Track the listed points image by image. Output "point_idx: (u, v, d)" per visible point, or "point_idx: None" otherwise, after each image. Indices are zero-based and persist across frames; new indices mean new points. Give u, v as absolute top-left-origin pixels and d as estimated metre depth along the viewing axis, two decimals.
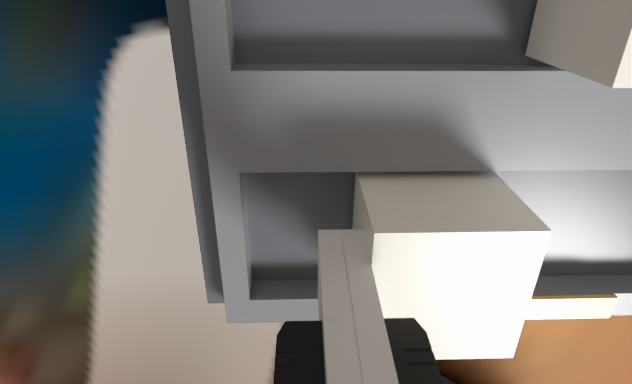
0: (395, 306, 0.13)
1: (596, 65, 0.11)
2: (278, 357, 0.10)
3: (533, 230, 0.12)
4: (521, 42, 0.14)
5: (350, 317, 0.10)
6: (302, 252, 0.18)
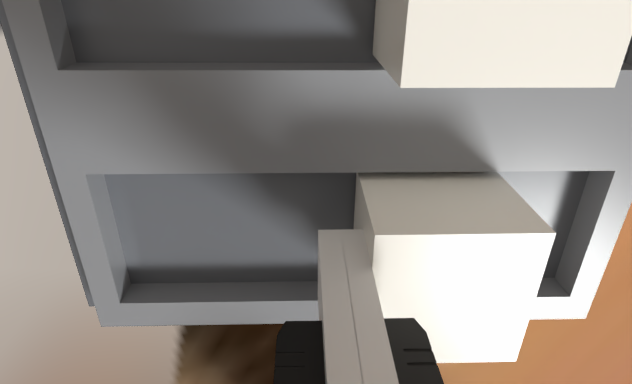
0: (396, 309, 0.13)
1: (395, 64, 0.10)
2: (278, 357, 0.10)
3: (537, 232, 0.12)
4: (369, 41, 0.14)
5: (350, 317, 0.10)
6: (177, 255, 0.17)
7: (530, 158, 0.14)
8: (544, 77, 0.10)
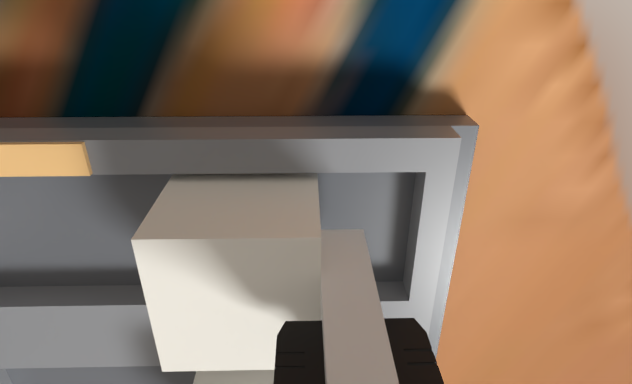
0: None
1: None
2: (278, 357, 0.10)
3: None
4: None
5: (350, 317, 0.10)
6: None
7: None
8: (265, 364, 0.14)
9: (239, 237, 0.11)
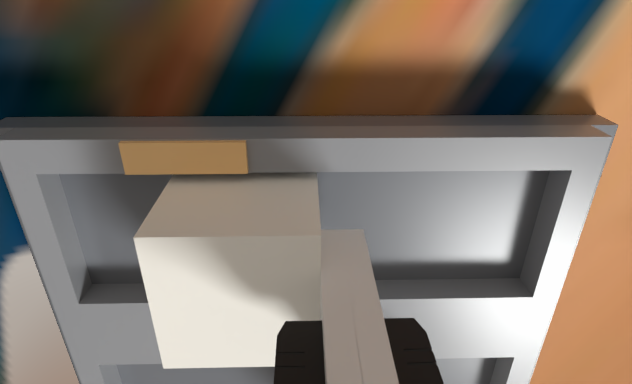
0: None
1: None
2: (278, 357, 0.10)
3: None
4: None
5: (350, 317, 0.10)
6: None
7: (446, 350, 0.18)
8: (266, 361, 0.14)
9: (241, 236, 0.11)
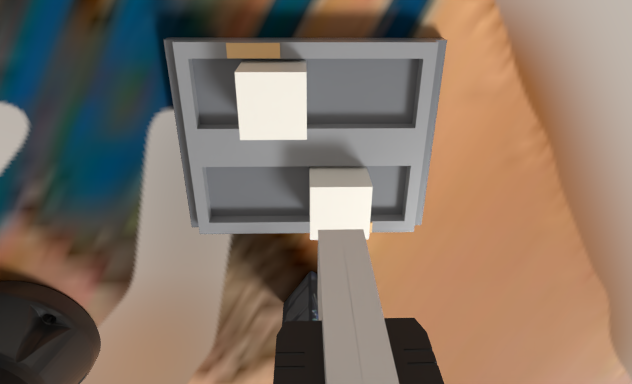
0: (320, 215, 0.35)
1: None
2: (278, 357, 0.10)
3: (366, 186, 0.34)
4: (311, 116, 0.36)
5: (350, 317, 0.10)
6: (233, 202, 0.40)
7: (375, 160, 0.37)
8: (283, 136, 0.32)
9: (275, 71, 0.30)
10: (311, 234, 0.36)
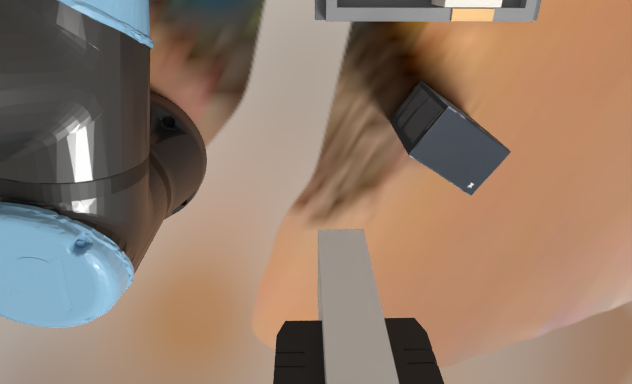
0: None
1: None
2: (278, 357, 0.10)
3: None
4: None
5: (350, 317, 0.10)
6: None
7: None
8: None
9: None
10: (446, 0, 0.37)
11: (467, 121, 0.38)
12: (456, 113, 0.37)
